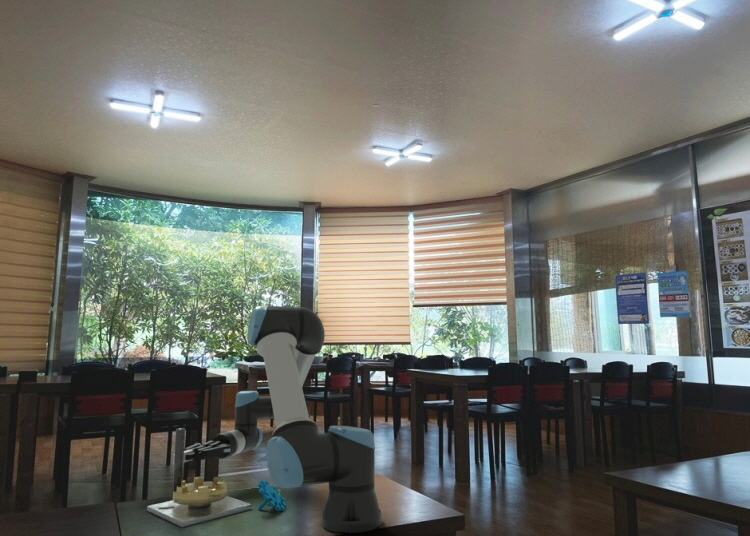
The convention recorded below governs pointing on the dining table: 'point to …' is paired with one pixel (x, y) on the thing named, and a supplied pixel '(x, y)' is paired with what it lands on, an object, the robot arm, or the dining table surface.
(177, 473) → the gold toothed rod mount
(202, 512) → the white square base plate
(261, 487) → the gear
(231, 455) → the robot arm
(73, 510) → the dining table surface
